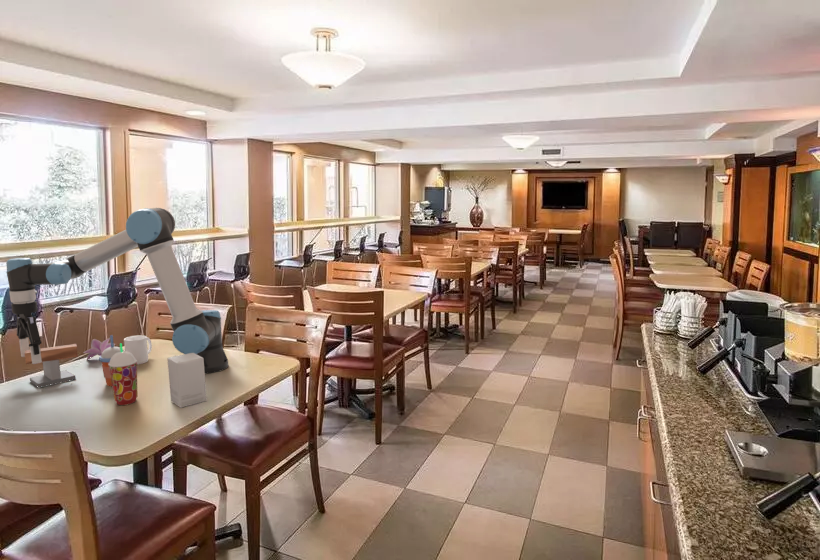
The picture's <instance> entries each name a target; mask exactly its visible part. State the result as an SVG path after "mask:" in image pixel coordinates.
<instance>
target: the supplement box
mask: <svg viewBox="0 0 820 560" xmlns="http://www.w3.org/2000/svg"><path fill="white" fill-rule="evenodd" d="M167 369H168V371H167V372H168V382H169V392H170V401H171V402H172V403H173V404H175V405H176V406H178V407H179V408H184V407H188V406H193V405H197V404H200V403H203V402H207V387H206V375H205V371H204V358H202V357H201V356H199V355H197V354H195V353H189V354H179V355H174V356H170V357H167Z"/></svg>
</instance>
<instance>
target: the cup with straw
mask: <svg viewBox="0 0 820 560" xmlns="http://www.w3.org/2000/svg"><path fill="white" fill-rule="evenodd" d="M109 338H110V340H109V341H110V343H111V347H109V348H107V349H105V350H104V351H103V352H102V355H101V356H98V357H99V362H100V363H101V369H102V373H103V377H104V378H105V384H106V386H108V387H112V382H111V376H110V371H109V365H108V364H109V362H110V359H111V358H112V356H113V355H114V354H116V353H118V352H120V346H115V345H114V344H115V343H114V336H113V334H111V335H109ZM123 351H125V349H123Z"/></svg>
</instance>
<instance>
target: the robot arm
mask: <svg viewBox="0 0 820 560" xmlns="http://www.w3.org/2000/svg"><path fill="white" fill-rule="evenodd" d="M175 228H176V220H175V217H174V215H173V214H172V213H171V212H170V211H168V210H167V209H165V208H161V207H152V208H148V207H147V208H146V207H145V208H140V209H137V210H135V211H134V212H132V213H131V214H130V215H128V218H127V220H126V223H125V229H124V230H122V231H120V232H117V234H116V233H115V234H113V235H112V236H110V237H107V238H105V239H104V240H102V241H100V242H98V243H96V244H94V245H92V246H90V247H88V248H85V249H84V250H81V251H79V252H77V253H75V254H73V255H71V256H69V257H68V258H65V259H61V260H58V261H52V262H49V263H48V262H47V263H46V262H45V263H33V261H32V259H31V258H30V257H15V258H10V259H8V260H6V274H7V280H8V287H9V291H8V293H9V298H10V302H11V304H10V305H11V313H12V314H13V315H16V336H17V338H18V339H19V349H20V356H21V357H22V358H25V351H27V350H31V358H32V363H31V364H32V365H36V364H41V363H43V362H42V360H41V352H40V349H41V346H40V345H41V344H42V339H41V336H40V332H39V329H38V324H37V319H36V316H33V313H36V312H38V310H39V309H38V308H39V307H38V301H36V300H37V296H36V295H37V294H38V291H37V290H36V286H38V285H39V286H40V285H42V286H46V285H51V286H52V285H55V286H58V285H66V284H68V283H69V282H70V280H73V279H77V278H79V277H81V276H83V275H84V274H85V273H88V272H89V271H90V270H91V271H92V270H93V269H96V268H97V267H100V266H101V265H103V264H105V263H107V262H110V261H112V260H113V259H116V258H119V256H122V255H124V254H126V253H128V252H130V251H132V250H134V249H137V248H138V249H139V252H140V253H143V254H145V255H146V256H147V258H148V261H149V264H150V266H151V268H152V270H153V272H154V275H155V278H156V281H157V283H158V285H159V288H160V290H161V293H162V295H163V297H164V300H165V302H166V305H167V308H168V309H169V311H170V315H171V320H170V326H171V328H172V331H173V334H172V338H171V339H172V340H171V341H172V344H173V346H174V348H175V350H177V351H178V352H179V353H180V354H182V355H184V354H189V353H195V354H197V355H199V356H201V357H202V358H204V371H205V374H212V373H213V374H214V373H217V372H221V371H223V370H225V369H226V370H227V368H228V367H229V360H228V357H227V354H226V352H225V350H224V347H223V334H222V317H221V312H220V311H219V310H217V309H209V310H208V309H204V310H203V309H202V310H201V309H198V308H197V306H196V304H195V302H194V299H193V296H192V294H191V292H190V289H189V287H188V284H187V282H186V279H185V277H184V275H183V272H182V269H181V266H180V264H179V262H178V260H177V257H176V254H175V252H174V250H173V247H172V245H173V244H174V237H173V235H172V234H173V233H174V231H175V230H176V229H175Z"/></svg>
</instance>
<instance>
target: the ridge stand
mask: <svg viewBox="0 0 820 560" xmlns="http://www.w3.org/2000/svg"><path fill="white" fill-rule="evenodd" d="M42 369H43V374H42V375H38V376H37V375H36V376H32V377H29V382H30V381H31V382H32V383H31V382H30V383H31V384H33V385H34V384H35V385H36V386H35V385H34V386H35V387H37V386H38V387H40V388H42V387H41V386H44V387H47V386H46V385H49V386H51V385H50V384H53V385H56V384H55V383H57V384H61V383H60V382H62V383H65V381H66V382H70V381H73V379H74V380H76V379H77V378H76V374H74V373H72V372H70V371H69V370H67V369H64V370H61V366H60V359H58V360H51V361H45V362H42ZM69 380H70V381H69ZM38 387H37V388H38Z"/></svg>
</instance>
